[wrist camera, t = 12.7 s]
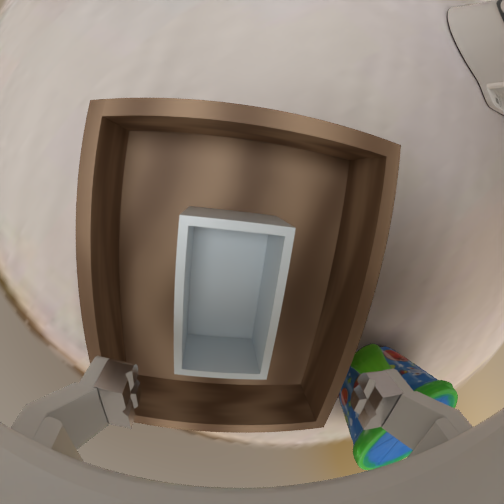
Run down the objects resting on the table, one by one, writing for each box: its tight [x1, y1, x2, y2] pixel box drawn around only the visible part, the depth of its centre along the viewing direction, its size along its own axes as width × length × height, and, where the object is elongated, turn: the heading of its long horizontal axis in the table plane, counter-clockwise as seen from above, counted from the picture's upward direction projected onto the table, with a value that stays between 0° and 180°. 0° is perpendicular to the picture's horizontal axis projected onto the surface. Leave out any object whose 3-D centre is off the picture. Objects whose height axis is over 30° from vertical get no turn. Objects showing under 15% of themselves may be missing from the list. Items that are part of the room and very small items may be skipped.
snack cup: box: [338, 344, 458, 470], centre depth 21 cm, size 16×11×10 cm
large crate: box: [76, 98, 401, 432], centre depth 18 cm, size 18×22×6 cm
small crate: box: [174, 206, 296, 380], centre depth 17 cm, size 6×10×5 cm, turn 172°
